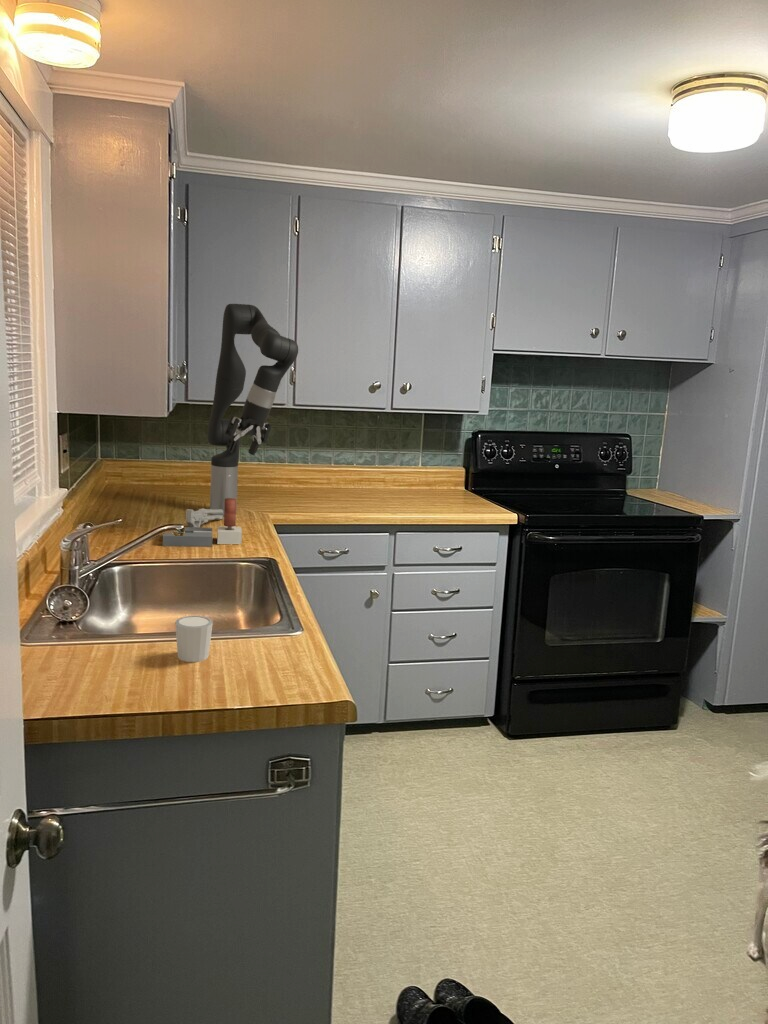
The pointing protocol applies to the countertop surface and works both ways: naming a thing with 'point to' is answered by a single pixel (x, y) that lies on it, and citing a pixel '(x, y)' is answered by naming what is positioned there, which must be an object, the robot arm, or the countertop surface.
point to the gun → (202, 516)
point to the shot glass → (193, 638)
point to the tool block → (229, 535)
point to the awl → (230, 513)
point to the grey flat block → (190, 537)
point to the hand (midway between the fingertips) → (240, 452)
